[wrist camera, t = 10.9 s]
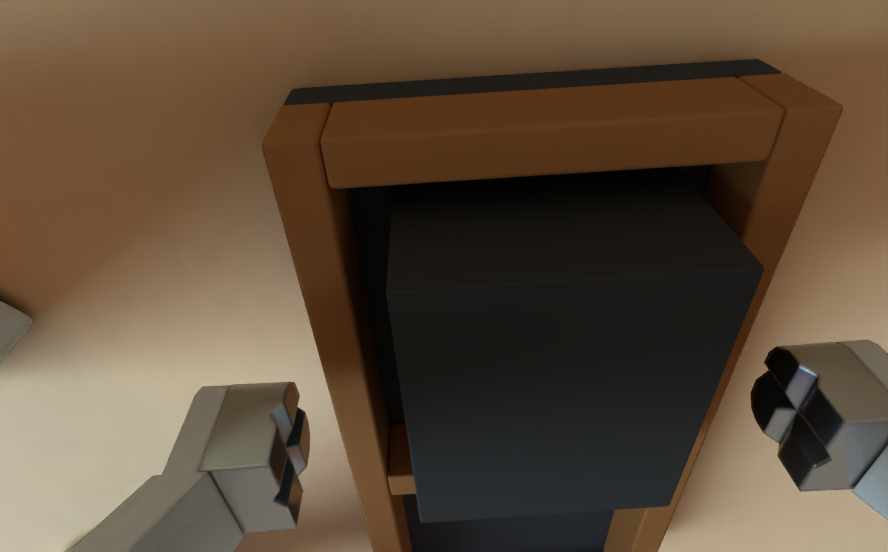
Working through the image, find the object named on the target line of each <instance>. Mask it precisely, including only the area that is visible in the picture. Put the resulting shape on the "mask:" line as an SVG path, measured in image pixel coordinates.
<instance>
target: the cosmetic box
mask: <svg viewBox="0 0 888 552" xmlns="http://www.w3.org/2000/svg"><path fill="white" fill-rule="evenodd" d="M31 325H32V319H31V318H30V317H29V316H27V315H26V314H24V313H22V312H20V311H19V310H17V309H15V308H13V307H11V306H9V305H7V304H5V303H3V302H1V301H0V362H1V360H2V359H3V358H4V357H5V356H6V355H7V354H8V353H9V352H10V350H11V349H12V348H13V347H14V346H15V345H16V344H17V343H18V341H19V340H20V339H21V338H22V336H23V335H24V334H25V333H26V332H27V330H28V329H29V328H30V327H31Z"/></svg>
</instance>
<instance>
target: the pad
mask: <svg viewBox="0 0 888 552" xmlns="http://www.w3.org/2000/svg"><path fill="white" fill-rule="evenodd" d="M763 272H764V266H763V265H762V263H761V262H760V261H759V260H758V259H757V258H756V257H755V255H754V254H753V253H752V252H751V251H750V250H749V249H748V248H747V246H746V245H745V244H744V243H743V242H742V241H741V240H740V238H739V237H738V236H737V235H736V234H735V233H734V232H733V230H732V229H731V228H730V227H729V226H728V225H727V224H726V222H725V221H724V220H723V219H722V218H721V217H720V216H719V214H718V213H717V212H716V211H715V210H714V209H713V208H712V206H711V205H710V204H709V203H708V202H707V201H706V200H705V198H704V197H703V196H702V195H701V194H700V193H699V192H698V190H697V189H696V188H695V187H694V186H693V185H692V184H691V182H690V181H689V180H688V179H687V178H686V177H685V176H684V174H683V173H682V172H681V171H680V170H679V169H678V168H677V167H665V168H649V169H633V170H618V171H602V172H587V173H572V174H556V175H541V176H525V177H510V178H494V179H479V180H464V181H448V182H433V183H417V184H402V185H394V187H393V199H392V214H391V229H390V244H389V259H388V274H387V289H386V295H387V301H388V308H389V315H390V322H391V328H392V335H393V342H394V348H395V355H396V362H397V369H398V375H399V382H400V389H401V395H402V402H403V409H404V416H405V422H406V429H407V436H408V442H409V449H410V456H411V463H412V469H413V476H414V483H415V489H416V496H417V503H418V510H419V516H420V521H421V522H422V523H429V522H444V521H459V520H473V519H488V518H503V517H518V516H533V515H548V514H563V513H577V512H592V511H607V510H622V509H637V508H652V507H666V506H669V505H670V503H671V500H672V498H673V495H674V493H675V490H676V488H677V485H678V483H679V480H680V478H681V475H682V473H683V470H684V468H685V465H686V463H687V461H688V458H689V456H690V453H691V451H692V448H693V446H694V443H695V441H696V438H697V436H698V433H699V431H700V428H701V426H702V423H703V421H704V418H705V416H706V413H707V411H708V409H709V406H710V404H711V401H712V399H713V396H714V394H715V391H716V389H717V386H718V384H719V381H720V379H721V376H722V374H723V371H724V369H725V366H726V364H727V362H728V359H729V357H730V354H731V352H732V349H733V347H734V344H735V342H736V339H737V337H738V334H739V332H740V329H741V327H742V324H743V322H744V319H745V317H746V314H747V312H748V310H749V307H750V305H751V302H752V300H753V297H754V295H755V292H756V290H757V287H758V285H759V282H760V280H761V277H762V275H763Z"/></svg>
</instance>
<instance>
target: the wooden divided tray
mask: <svg viewBox="0 0 888 552" xmlns="http://www.w3.org/2000/svg"><path fill="white" fill-rule="evenodd" d="M842 110H843V107H842V105H841V104H839V103H837V102H836V101H834V100H832V99H830V98H828V97H827V96H825V95H823V94H821V93H819V92H818V91H816V90H814V89H812V88H810V87H809V86H807V85H805V84H803V83H801V82H800V81H798V80H796V79H794V78H792V77H791V76H789V75H787V74H784V73H781V71H779V70H777V69H775V68H774V67H772V66H770V65H768V64H766V63H765V62H763V61H761V60H759V59H751V60H735V61H720V62H704V63H688V64H673V65H657V66H641V67H626V68H610V69H594V70H579V71H563V72H547V73H532V74H516V75H500V76H485V77H469V78H453V79H438V80H422V81H407V82H391V83H375V84H360V85H344V86H328V87H313V88H297V89H293V90H291V92H290V93H289V95H288V97H287V99H286V101H285V102H284V106H283V107H281V109H280V111H279V113H278V114H277V116H276V118H275V120H274V122H273V123H272V125H271V127H270V129H269V131H268V132H267V134H266V136H265V138H264V140H263V141H262V150H263V154H264V157H265V161H266V165H267V168H268V172H269V175H270V179H271V183H272V186H273V190H274V193H275V197H276V201H277V204H278V208H279V212H280V215H281V219H282V222H283V226H284V230H285V233H286V237H287V241H288V244H289V248H290V251H291V255H292V259H293V262H294V266H295V269H296V273H297V277H298V280H299V284H300V288H301V291H302V295H303V298H304V302H305V306H306V309H307V313H308V316H309V320H310V324H311V327H312V331H313V335H314V338H315V342H316V345H317V349H318V353H319V356H320V360H321V364H322V367H323V371H324V374H325V378H326V382H327V385H328V389H329V392H330V396H331V400H332V403H333V407H334V411H335V414H336V418H337V421H338V425H339V429H340V432H341V436H342V440H343V443H344V447H345V450H346V454H347V458H348V461H349V465H350V468H351V472H352V476H353V479H354V483H355V487H356V490H357V494H358V497H359V501H360V505H361V508H362V512H363V515H364V519H365V523H366V526H367V530H368V534H369V537H370V541H371V544H372V548H373V552H658V549H659V547H660V545H661V542H662V540H663V538H664V535H665V533H666V530H667V528H668V526H669V523H670V521H671V518H672V516H673V514H674V511H675V509H676V507H677V504H678V502H679V499H680V497H681V495H682V492H683V490H684V487H685V485H686V483H687V480H688V478H689V476H690V473H691V471H692V468H693V466H694V464H695V461H696V459H697V456H698V454H699V452H700V449H701V447H702V445H703V442H704V440H705V437H706V435H707V433H708V430H709V428H710V425H711V423H712V421H713V418H714V416H715V413H716V411H717V409H718V406H719V404H720V402H721V399H722V397H723V394H724V392H725V390H726V387H727V385H728V382H729V380H730V378H731V375H732V373H733V371H734V368H735V366H736V363H737V361H738V359H739V356H740V354H741V351H742V349H743V347H744V344H745V342H746V340H747V337H748V335H749V332H750V330H751V328H752V325H753V323H754V320H755V318H756V316H757V313H758V311H759V309H760V306H761V304H762V301H763V299H764V297H765V294H766V292H767V289H768V287H769V285H770V282H771V280H772V277H773V275H774V273H775V270H776V268H777V266H778V263H779V261H780V258H781V256H782V254H783V251H784V249H785V246H786V244H787V242H788V239H789V237H790V235H791V232H792V230H793V227H794V225H795V223H796V220H797V218H798V215H799V213H800V211H801V208H802V206H803V204H804V201H805V199H806V196H807V194H808V192H809V189H810V187H811V184H812V182H813V180H814V177H815V175H816V173H817V170H818V168H819V165H820V163H821V161H822V158H823V156H824V153H825V151H826V149H827V146H828V144H829V141H830V139H831V137H832V134H833V132H834V130H835V127H836V125H837V122H838V120H839V118H840V115H841V113H842ZM665 167H677V168H678V169H679V170H680V171H681V172H682V173H683V174H684V176H685V177H686V178H687V179H688V180H689V181H690V182H691V184H692V185H693V186H694V187H695V188H696V189H697V190H698V192H699V193H700V194H701V195H702V196H703V197H704V198H705V200H706V201H707V202H708V203H709V204H710V205H711V206H712V208H713V209H714V210H715V211H716V212H717V213H718V214H719V216H720V217H721V218H722V219H723V220H724V221H725V222H726V224H727V225H728V226H729V227H730V228H731V229H732V230H733V232H734V233H735V234H736V235H737V236H738V237H739V238H740V240H741V241H742V242H743V243H744V244H745V245H746V246H747V248H748V249H749V250H750V251H751V252H752V253H753V254H754V255H755V257H756V258H757V259H758V260H759V261H760V262H761V263H762V265H763V266H764V272H763V275H762V277H761V280H760V282H759V285H758V287H757V290H756V292H755V295H754V297H753V300H752V302H751V305H750V307H749V310H748V312H747V314H746V317H745V319H744V322H743V324H742V327H741V329H740V332H739V334H738V337H737V339H736V342H735V344H734V347H733V349H732V352H731V354H730V357H729V359H728V362H727V364H726V366H725V369H724V371H723V374H722V376H721V379H720V381H719V384H718V386H717V389H716V391H715V394H714V396H713V399H712V401H711V404H710V406H709V409H708V411H707V413H706V416H705V418H704V421H703V423H702V426H701V428H700V431H699V433H698V436H697V438H696V441H695V443H694V446H693V448H692V451H691V453H690V456H689V458H688V461H687V463H686V465H685V468H684V470H683V473H682V475H681V478H680V480H679V483H678V485H677V488H676V490H675V493H674V495H673V498H672V500H671V503H670V505H669V506H666V507H652V508H637V509H622V510H607V511H592V512H577V513H563V514H548V515H533V516H518V517H503V518H488V519H473V520H459V521H444V522H429V523H422V522H421V521H420V516H419V510H418V503H417V496H416V489H415V483H414V476H413V469H412V463H411V456H410V449H409V442H408V436H407V429H406V422H405V416H404V409H403V402H402V395H401V389H400V382H399V375H398V369H397V362H396V355H395V348H394V342H393V335H392V328H391V322H390V315H389V308H388V301H387V295H386V289H387V274H388V259H389V244H390V229H391V214H392V199H393V187H394V185H402V184H417V183H433V182H448V181H464V180H479V179H494V178H510V177H525V176H541V175H556V174H572V173H587V172H602V171H618V170H633V169H649V168H665Z"/></svg>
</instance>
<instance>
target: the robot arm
mask: <svg viewBox="0 0 888 552" xmlns="http://www.w3.org/2000/svg"><path fill="white" fill-rule="evenodd" d="M764 363H765V365H766V366H767V368H768V371H767V372H766V373H764V374H763V375H762V376H760V377H759V378H758V379H756V381H755V383H754V386H753V388H752V391H751V408H752V411H753V414H754V417H755V420H756V422H757V423H758V425H759V427H760V428H761V430H762V432H763V433H764V434H766V435H767V436H769V437H770V438H772V439H773V440H775V441H776V442H778V443H779V449H778V457H779V459H780V460H781V462H782V464H783V465H784V467H785V468H786V470H787V472H788V473H789V475H790V476H791V478H792V479H793V481H794V483H795V484H796V486H797V487H798V489H799V491H821V490H842V489H853V490H852V492H853V493H854V494H855V495H856V496H858V497H859V498H860V499H862V500H863V501H864V502H865V503H867V504H868V505H869V506H870V507H872V508H873V509H874V510H876V511H877V512H878V513H879V514H881V515H882V516H883V517H885V518H886V519H887V520H888V354H887V353H886V352H885V351H884V350H883V349H882V348H881V347H880V346H879V345H878V344H876V343H874V342H872V341H870V340H856V341H843V342H835V343H834V342H826V343H814V344H802V345H790V346H778V347H775V348H774V349H773V350H771V351H770V352H769V353H768V355H767V357H766V359H765V361H764ZM299 396H300V395H299V392H298V390H297V387H296V385H295V383H294V382H279V383H257V384H235V385H222V386H203V387H202V388H201V389H200V390H199V391H198V392H197V393H196V394H195V396H194V398H193V401H192V403H191V406H190V408H189V410H188V413H187V415H186V418H185V420H184V423H183V425H182V427H181V430H180V432H179V435H178V437H177V440H176V442H175V444H174V447H173V449H172V452H171V454H170V457H169V459H168V461H167V464H166V466H165V469H164V471H163V474H162V475H155V476H152V477H151V478H149V479H148V480H147V481H146V482H145V483H144V484H143V485H142V486H141V487H139V488H138V489H137V490H136V491H135V492H134V493H133V494H132V495H131V496H130V497H128V498H127V499H126V500H125V501H124V502H123V503H122V504H121V505H120V506H118V507H117V508H116V509H115V510H114V511H113V512H112V513H111V514H110V515H108V516H107V517H106V518H105V519H104V520H103V521H102V522H101V523H100V524H99V525H97V526H96V527H95V528H94V529H93V530H92V531H91V532H90V533H89V534H87V535H86V536H85V537H84V538H83V539H82V540H81V541H80V542H79V543H78V544H76V545H75V546H74V547H73V548H72V549H71V550H70V551H69V552H234V551H235V549H236V548H237V547H238V545H239V544H240V543H241V541H242V540H243V539H244V535H243V534H249V533H258V532H268V531H278V530H288V529H296V527H297V521H298V515H299V510H300V504H301V499H302V493H303V489H302V487H301V484H300V481H299V479H298V476H299V475H300V474H301V472H302V471H303V470H304V469H305V468H306V467H307V464H308V457H309V451H310V431H309V424H308V420H307V416H306V413H305V412H304V411H303V410H301V409H300V408H298V407H297V406H298V401H299Z"/></svg>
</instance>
